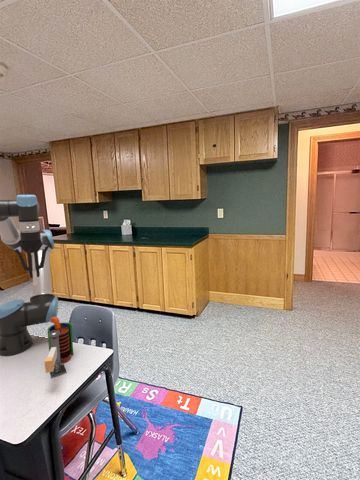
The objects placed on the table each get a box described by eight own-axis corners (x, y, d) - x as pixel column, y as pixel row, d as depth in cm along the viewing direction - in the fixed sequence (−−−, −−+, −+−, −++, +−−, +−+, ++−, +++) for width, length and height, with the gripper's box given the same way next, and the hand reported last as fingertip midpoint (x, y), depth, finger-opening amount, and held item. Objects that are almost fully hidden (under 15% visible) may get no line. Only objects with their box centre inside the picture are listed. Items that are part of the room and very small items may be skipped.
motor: (62, 367, 116) (58, 324, 113) (45, 364, 118) (40, 322, 114) (76, 353, 126) (73, 314, 123) (59, 351, 127) (56, 313, 124)
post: (48, 370, 113) (45, 331, 111) (63, 365, 117) (60, 327, 114) (51, 378, 109) (47, 337, 106) (66, 372, 112) (63, 333, 109)
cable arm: (58, 356, 109) (57, 345, 108) (53, 371, 99) (52, 360, 99) (51, 357, 109) (50, 346, 108) (45, 372, 99) (44, 361, 98)
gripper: (12, 233, 105) (18, 289, 109) (48, 231, 112) (53, 283, 116) (11, 231, 111) (17, 285, 115) (45, 229, 118) (50, 279, 122)
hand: (35, 284), depth 115 cm, fingers closed
